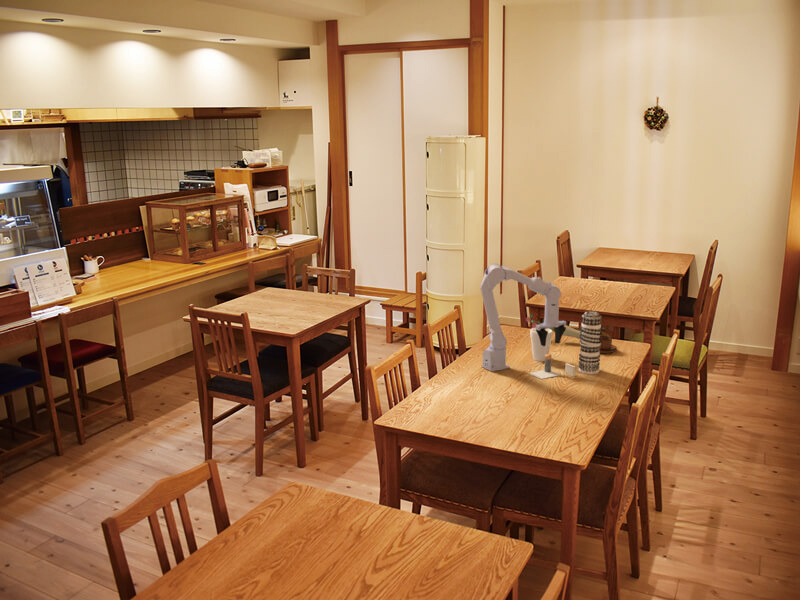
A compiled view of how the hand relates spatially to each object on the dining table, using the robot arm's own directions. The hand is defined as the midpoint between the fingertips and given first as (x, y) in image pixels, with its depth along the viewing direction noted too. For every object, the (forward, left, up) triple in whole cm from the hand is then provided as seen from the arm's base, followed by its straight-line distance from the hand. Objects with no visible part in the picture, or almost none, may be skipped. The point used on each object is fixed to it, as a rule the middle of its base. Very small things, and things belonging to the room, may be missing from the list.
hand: (550, 344), depth 301 cm
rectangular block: (+1, -12, -10) cm, 16 cm away
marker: (-5, -5, -10) cm, 12 cm away
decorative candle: (+11, -12, -10) cm, 19 cm away
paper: (-8, -7, -10) cm, 15 cm away
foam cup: (+3, +10, -10) cm, 15 cm away
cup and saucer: (+35, +5, -10) cm, 37 cm away
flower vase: (+28, +26, -10) cm, 39 cm away
